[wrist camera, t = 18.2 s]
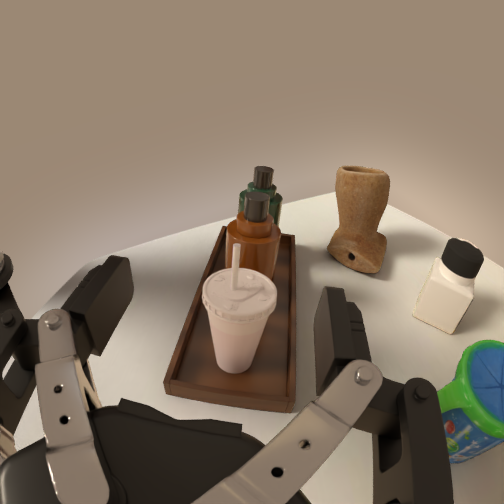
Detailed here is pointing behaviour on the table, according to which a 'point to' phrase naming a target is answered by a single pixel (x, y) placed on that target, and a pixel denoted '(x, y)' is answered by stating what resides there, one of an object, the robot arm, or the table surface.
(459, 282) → the medicine bottle
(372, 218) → the stone cup
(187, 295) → the table surface
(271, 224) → the amber bottle
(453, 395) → the snack cup
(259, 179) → the green bottle
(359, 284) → the table surface
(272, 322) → the tray
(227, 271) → the smoothie
